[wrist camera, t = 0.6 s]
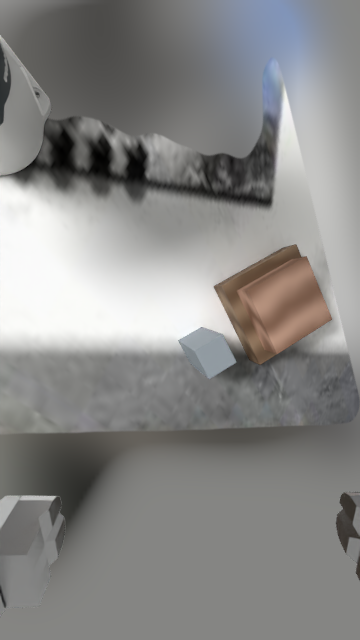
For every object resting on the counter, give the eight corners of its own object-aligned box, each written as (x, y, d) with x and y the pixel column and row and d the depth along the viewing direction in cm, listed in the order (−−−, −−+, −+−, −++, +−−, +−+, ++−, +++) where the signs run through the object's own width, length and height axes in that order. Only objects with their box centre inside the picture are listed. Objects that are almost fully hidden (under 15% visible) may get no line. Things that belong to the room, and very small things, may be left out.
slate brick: (178, 340, 51) (194, 351, 42) (201, 327, 52) (222, 334, 42) (190, 363, 52) (209, 379, 43) (213, 350, 53) (236, 362, 43)
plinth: (213, 286, 52) (231, 284, 44) (282, 247, 55) (311, 240, 47) (249, 359, 55) (272, 370, 47) (313, 319, 58) (344, 323, 50)
